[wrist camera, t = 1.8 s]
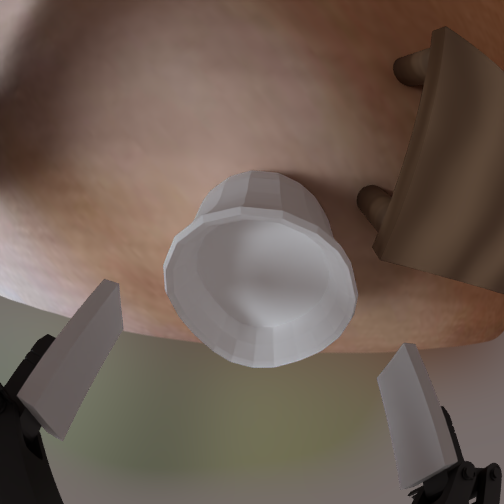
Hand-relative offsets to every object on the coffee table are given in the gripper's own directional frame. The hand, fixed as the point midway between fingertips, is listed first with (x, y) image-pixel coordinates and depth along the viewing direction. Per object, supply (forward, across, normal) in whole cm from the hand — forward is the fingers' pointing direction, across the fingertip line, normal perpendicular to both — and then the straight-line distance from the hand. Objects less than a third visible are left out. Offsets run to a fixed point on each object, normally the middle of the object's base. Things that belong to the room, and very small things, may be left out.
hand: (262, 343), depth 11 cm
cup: (+12, 0, 0) cm, 12 cm away
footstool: (+12, +12, +10) cm, 20 cm away
